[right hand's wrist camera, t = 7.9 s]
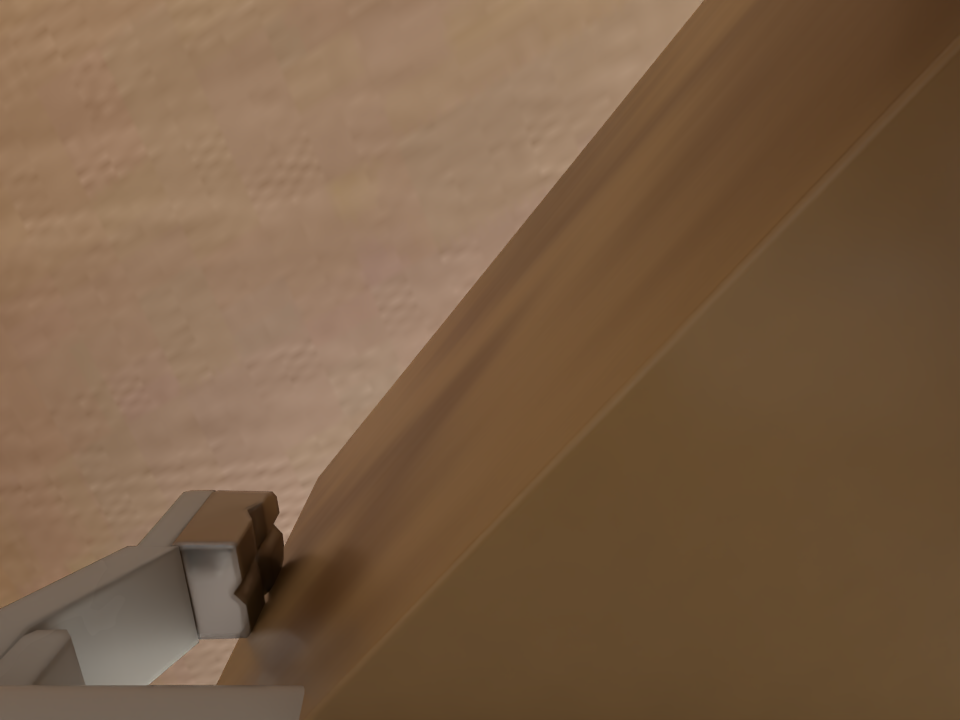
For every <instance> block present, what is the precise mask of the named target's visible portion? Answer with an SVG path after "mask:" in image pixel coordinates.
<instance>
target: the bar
mask: <svg viewBox="0 0 960 720" xmlns="http://www.w3.org/2000/svg"><path fill="white" fill-rule="evenodd" d="M264 597H265V605H264V607H263V609H262V611H261V613H260V615H259V617H258V619H257V621H256V624H255V626H254V628H253V630H252V632H251V634H250V635H249V636H248V637H247V638H239V640H238V642H237V644H236V646H235V648H234V650H233V652H232V654H231V656H230V658H229V660H228V662H227V664H226V666H225V668H224V670H223V672H222V674H221V676H220V679H219V681H218V683H217V685H302V686H304V689H305V691H304V698H303V703H302V707H301V712H300V717H299V720H960V0H704V1H703V2H702V4H701V5H700V6H699V7H698V9H697V10H696V11H695V12H694V13H693V15H692V16H691V17H690V18H689V20H688V21H687V22H686V23H685V25H684V26H683V27H682V28H681V30H680V31H679V32H678V33H677V35H676V36H675V37H674V38H673V39H672V41H671V42H670V43H669V44H668V46H667V47H666V48H665V49H664V51H663V52H662V53H661V54H660V56H659V57H658V58H657V59H656V61H655V62H654V63H653V64H652V65H651V67H650V68H649V69H648V70H647V72H646V73H645V74H644V75H643V77H642V78H641V79H640V80H639V82H638V83H637V84H636V85H635V86H634V88H633V89H632V90H631V91H630V93H629V94H628V95H627V96H626V98H625V99H624V100H623V101H622V103H621V104H620V105H619V106H618V108H617V109H616V110H615V111H614V112H613V114H612V115H611V116H610V117H609V119H608V120H607V121H606V122H605V124H604V125H603V126H602V127H601V129H600V130H599V131H598V132H597V134H596V135H595V136H594V137H593V138H592V140H591V141H590V142H589V143H588V145H587V146H586V147H585V148H584V150H583V151H582V152H581V153H580V155H579V156H578V157H577V158H576V159H575V161H574V162H573V163H572V164H571V166H570V167H569V168H568V169H567V171H566V172H565V173H564V174H563V176H562V177H561V178H560V179H559V181H558V182H557V183H556V184H555V185H554V187H553V188H552V189H551V190H550V192H549V193H548V194H547V195H546V197H545V198H544V199H543V200H542V202H541V203H540V204H539V205H538V207H537V208H536V209H535V210H534V211H533V213H532V214H531V215H530V216H529V218H528V219H527V220H526V221H525V223H524V224H523V225H522V226H521V228H520V229H519V230H518V231H517V232H516V234H515V235H514V236H513V237H512V239H511V240H510V241H509V242H508V244H507V245H506V246H505V247H504V249H503V250H502V251H501V252H500V254H499V255H498V256H497V257H496V258H495V260H494V261H493V262H492V263H491V265H490V266H489V267H488V268H487V270H486V271H485V272H484V273H483V275H482V276H481V277H480V278H479V280H478V281H477V282H476V283H475V284H474V286H473V287H472V288H471V289H470V291H469V292H468V293H467V294H466V296H465V297H464V298H463V299H462V301H461V302H460V303H459V304H458V305H457V307H456V308H455V309H454V310H453V312H452V313H451V314H450V315H449V317H448V318H447V319H446V320H445V322H444V323H443V324H442V325H441V327H440V328H439V329H438V330H437V331H436V333H435V334H434V335H433V336H432V338H431V339H430V340H429V341H428V343H427V344H426V345H425V346H424V348H423V349H422V350H421V351H420V352H419V354H418V355H417V356H416V357H415V359H414V360H413V361H412V362H411V364H410V365H409V366H408V367H407V369H406V370H405V371H404V372H403V374H402V375H401V376H400V377H399V378H398V380H397V381H396V382H395V383H394V385H393V386H392V387H391V388H390V390H389V391H388V392H387V393H386V395H385V396H384V397H383V398H382V400H381V401H380V402H379V403H378V404H377V406H376V407H375V408H374V409H373V411H372V412H371V413H370V414H369V416H368V417H367V418H366V419H365V421H364V422H363V423H362V424H361V425H360V427H359V428H358V429H357V430H356V432H355V433H354V434H353V435H352V437H351V438H350V439H349V440H348V442H347V443H346V444H345V445H344V447H343V448H342V449H341V450H340V451H339V453H338V454H337V455H336V456H335V458H334V459H333V460H332V461H331V463H330V464H329V465H328V466H327V468H326V469H325V470H324V471H323V473H322V474H321V475H320V476H319V477H318V479H317V481H316V483H315V485H314V487H313V489H312V491H311V494H310V496H309V498H308V500H307V502H306V504H305V506H304V508H303V510H302V512H301V514H300V516H299V518H298V520H297V522H296V524H295V526H294V528H293V530H292V532H291V534H290V536H289V538H288V540H287V542H286V544H285V546H284V560H283V565H282V569H281V571H280V573H279V575H278V577H277V579H276V581H275V583H274V585H273V587H272V588H271V590H270V591H269V592H268V593H267V594H266V595H264Z"/></svg>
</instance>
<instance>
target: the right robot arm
mask: <svg viewBox="0 0 960 720" xmlns="http://www.w3.org/2000/svg"><path fill="white" fill-rule="evenodd" d="M278 514H279V507H278V501H277V496H276V495H275V494H274V493H273V492H271V491H222V490H218V491H215V490H190V491H186V492H183V493H182V495H181V496H180V497H179V498H178V499H177V500H176V501H175V503H174V504H173V505H172V506H171V507H170V508H169V509H168V511H167V512H166V513H165V514H164V515H163V516H162V518H161V519H160V520H159V521H158V522H157V523H156V524H155V526H154V527H153V528H152V529H151V530H150V531H149V533H148V534H147V535H146V536H145V537H144V538H143V539H142V541H141V542H140V543H139V544H138V545H137V546H127V547H125V548H123V549H121V550H119V551H117V552H115V553H113V554H111V555H109V556H107V557H105V558H103V559H101V560H99V561H96V562H94V563H92V564H90V565H88V566H86V567H84V568H82V569H80V570H78V571H76V572H74V573H72V574H70V575H68V576H66V577H64V578H62V579H60V580H58V581H56V582H54V583H52V584H50V585H48V586H46V587H44V588H42V589H40V590H38V591H36V592H34V593H31V594H29V595H27V596H25V597H23V598H21V599H19V600H17V601H15V602H13V603H11V604H9V605H7V606H5V607H3V608H1V609H0V720H299V717H300V712H301V707H302V703H303V698H304V691H305V689H304V686H302V685H149V684H150V683H151V682H152V681H154V680H155V679H156V678H157V677H158V676H160V675H161V674H162V673H163V672H164V671H165V670H167V669H168V668H169V667H170V666H171V665H173V664H174V663H175V662H176V661H177V660H178V659H180V658H181V657H182V656H183V655H184V654H186V653H187V652H188V651H189V650H190V649H191V648H193V647H194V646H195V645H196V644H197V643H199V639H228V638H247V637H248V636H249V635H250V634H251V632H252V630H253V628H254V626H255V624H256V621H257V619H258V617H259V615H260V613H261V611H262V609H263V607H264V605H265V597H264V595H266V594H267V593H268V592H269V591H270V590H271V588H272V587H273V585H274V583H275V581H276V579H277V577H278V575H279V573H280V571H281V569H282V565H283V560H284V542H283V534H282V533H281V532H280V531H279V530H278V529H277V528H276V526H275V525H274V522H275V520H276V518H277V516H278Z"/></svg>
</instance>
